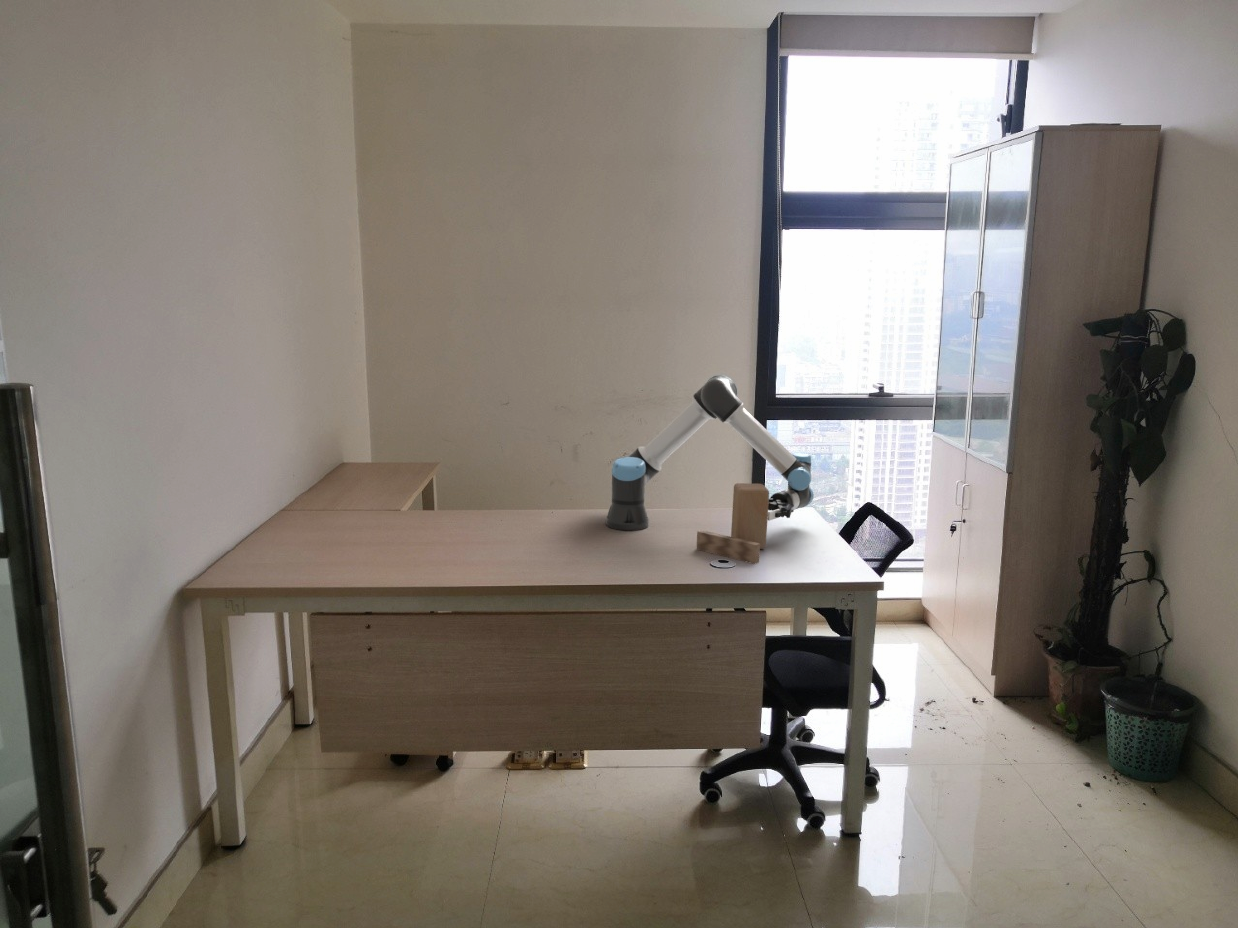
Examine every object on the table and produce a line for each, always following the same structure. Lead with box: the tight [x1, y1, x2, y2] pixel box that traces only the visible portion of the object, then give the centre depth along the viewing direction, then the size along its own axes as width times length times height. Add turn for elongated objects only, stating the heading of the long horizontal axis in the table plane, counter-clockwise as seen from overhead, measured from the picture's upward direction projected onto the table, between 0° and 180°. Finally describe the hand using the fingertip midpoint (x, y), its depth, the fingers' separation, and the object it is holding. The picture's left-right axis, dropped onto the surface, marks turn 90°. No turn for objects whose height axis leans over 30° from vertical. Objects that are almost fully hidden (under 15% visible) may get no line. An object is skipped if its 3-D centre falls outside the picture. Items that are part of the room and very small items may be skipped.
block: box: [730, 482, 770, 550], centre depth 293 cm, size 10×10×20 cm
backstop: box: [696, 529, 761, 565], centre depth 284 cm, size 22×2×6 cm, turn 50°
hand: (751, 512), depth 294 cm, fingers closed on block, 13 cm apart
